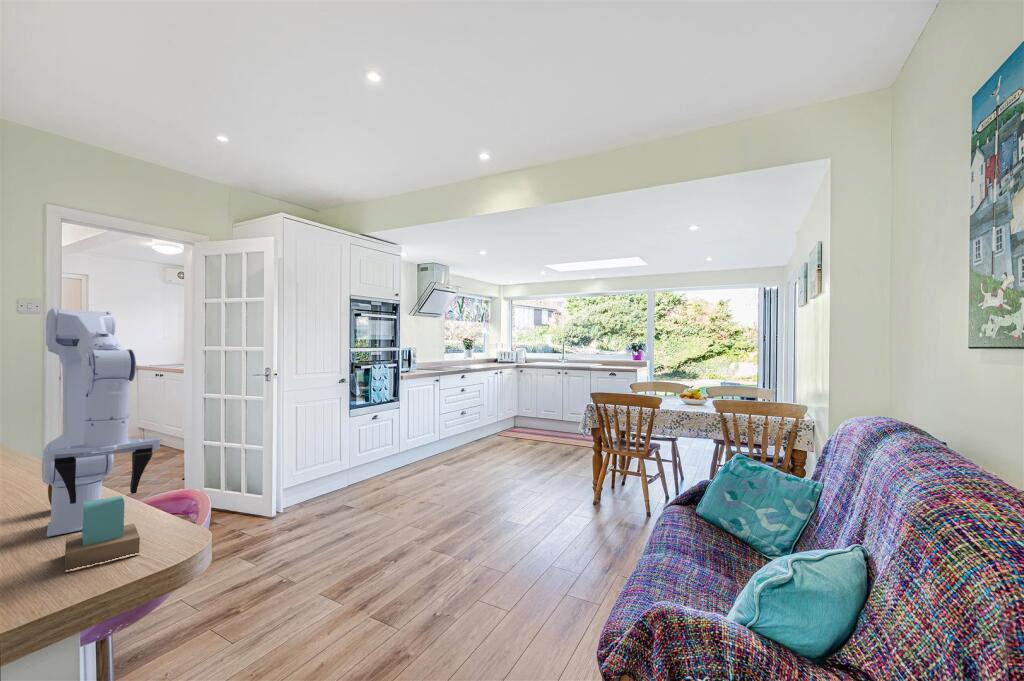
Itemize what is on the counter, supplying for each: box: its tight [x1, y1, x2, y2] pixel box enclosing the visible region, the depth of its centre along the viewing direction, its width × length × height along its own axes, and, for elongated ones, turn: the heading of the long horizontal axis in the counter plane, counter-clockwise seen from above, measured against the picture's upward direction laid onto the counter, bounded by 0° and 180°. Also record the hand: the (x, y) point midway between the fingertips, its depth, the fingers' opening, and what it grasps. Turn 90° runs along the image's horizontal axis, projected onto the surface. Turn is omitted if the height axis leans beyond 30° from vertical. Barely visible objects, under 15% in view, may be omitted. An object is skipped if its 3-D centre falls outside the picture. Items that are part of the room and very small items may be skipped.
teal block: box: [81, 495, 125, 546], centre depth 76 cm, size 5×5×6 cm
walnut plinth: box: [64, 523, 141, 571], centre depth 76 cm, size 9×9×3 cm
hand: (104, 497), depth 76 cm, fingers open, 7 cm apart
